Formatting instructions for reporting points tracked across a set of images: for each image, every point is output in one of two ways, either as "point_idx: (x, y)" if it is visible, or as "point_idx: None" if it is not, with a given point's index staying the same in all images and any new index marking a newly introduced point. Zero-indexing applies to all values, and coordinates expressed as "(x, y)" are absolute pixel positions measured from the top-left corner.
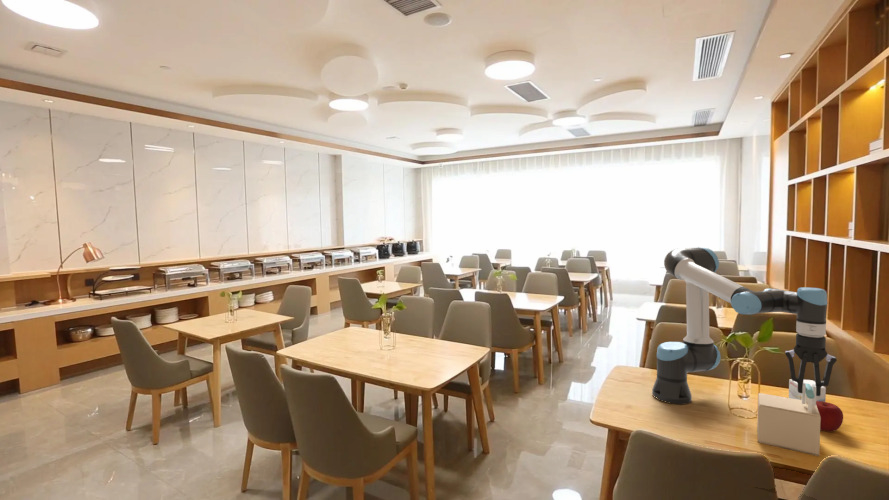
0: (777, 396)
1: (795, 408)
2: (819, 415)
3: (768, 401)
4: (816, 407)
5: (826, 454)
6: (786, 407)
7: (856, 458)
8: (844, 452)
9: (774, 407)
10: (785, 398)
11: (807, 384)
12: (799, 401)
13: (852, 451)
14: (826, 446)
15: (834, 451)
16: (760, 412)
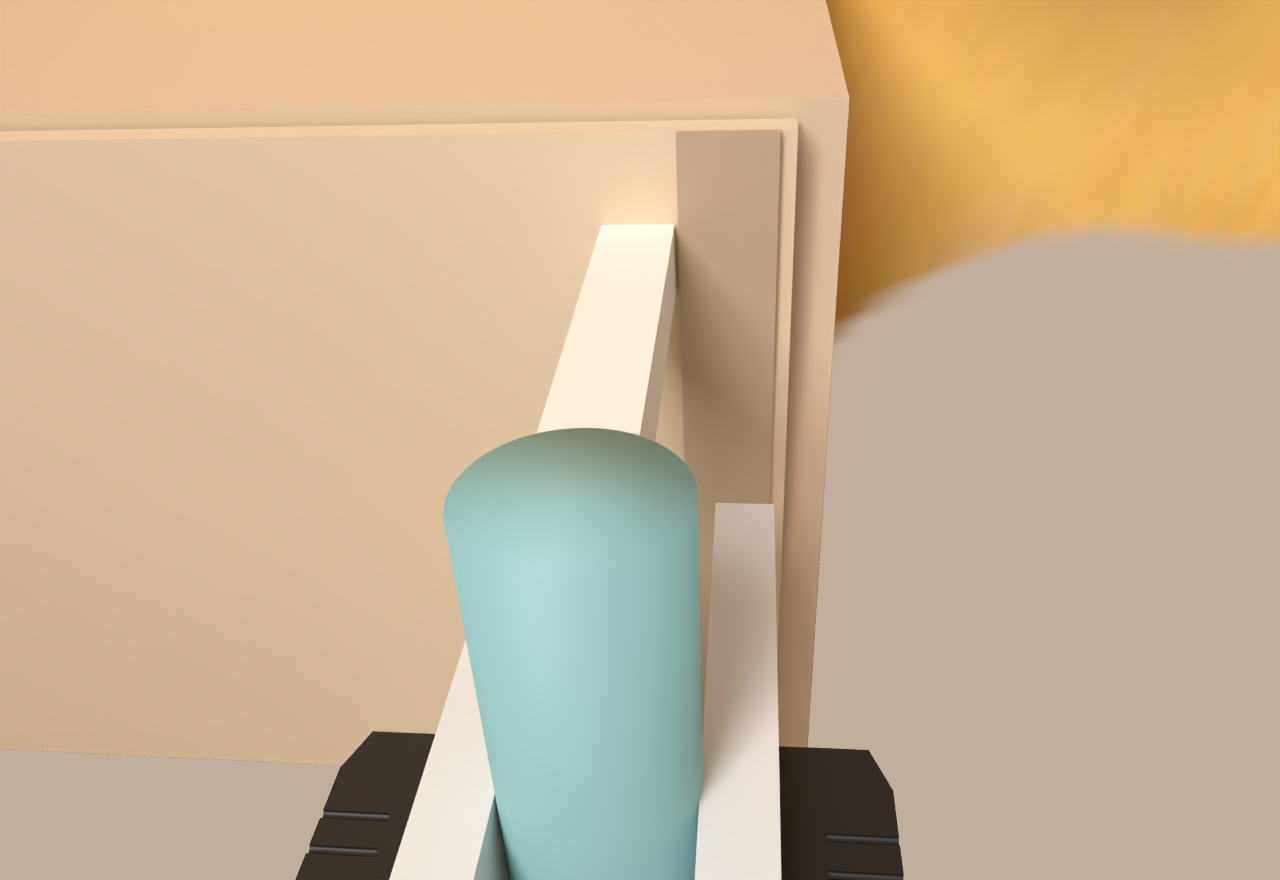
0: (9, 180)
1: (449, 681)
2: (802, 716)
3: (8, 579)
4: (818, 365)
5: (870, 304)
6: (320, 701)
7: (1182, 229)
8: (1099, 124)
9: (175, 752)
10: (189, 226)
11: (553, 691)
12: (483, 271)
13: (1222, 24)
14: (922, 54)
15: (982, 165)
16: None
